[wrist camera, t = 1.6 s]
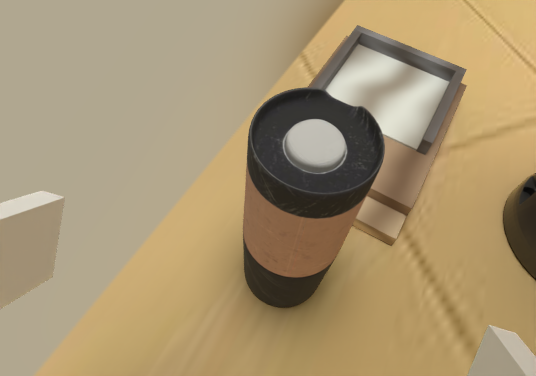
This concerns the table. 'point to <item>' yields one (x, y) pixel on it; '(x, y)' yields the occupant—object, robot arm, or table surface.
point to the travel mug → (304, 189)
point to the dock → (394, 117)
